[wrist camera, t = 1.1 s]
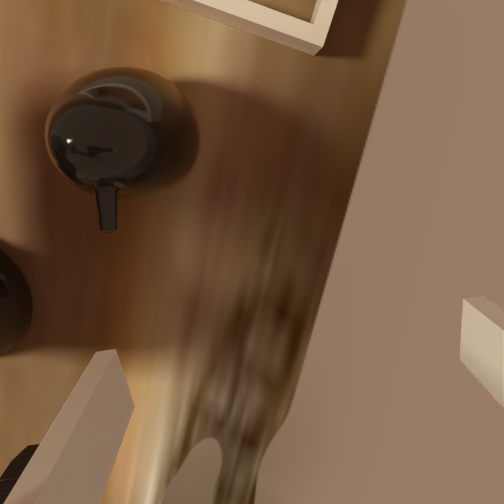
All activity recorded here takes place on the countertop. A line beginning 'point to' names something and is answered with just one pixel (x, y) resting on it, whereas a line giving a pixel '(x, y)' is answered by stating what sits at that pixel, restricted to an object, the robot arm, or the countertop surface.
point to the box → (267, 21)
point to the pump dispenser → (122, 138)
